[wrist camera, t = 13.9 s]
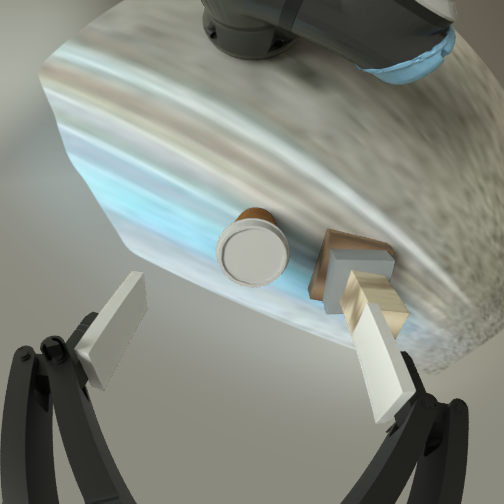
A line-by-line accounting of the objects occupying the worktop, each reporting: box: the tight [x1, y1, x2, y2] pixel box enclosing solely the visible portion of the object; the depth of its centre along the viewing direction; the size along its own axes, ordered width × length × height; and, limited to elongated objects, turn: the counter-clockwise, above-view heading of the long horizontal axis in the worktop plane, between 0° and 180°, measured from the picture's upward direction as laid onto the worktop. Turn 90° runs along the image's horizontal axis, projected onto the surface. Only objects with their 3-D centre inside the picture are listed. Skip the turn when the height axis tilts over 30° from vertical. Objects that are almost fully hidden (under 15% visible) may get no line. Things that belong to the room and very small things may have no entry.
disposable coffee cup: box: [216, 208, 290, 287], centre depth 40 cm, size 10×10×12 cm
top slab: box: [323, 248, 395, 314], centre depth 43 cm, size 10×10×4 cm
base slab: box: [308, 229, 394, 301], centre depth 46 cm, size 12×12×4 cm
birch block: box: [340, 270, 410, 342], centre depth 36 cm, size 6×6×10 cm
